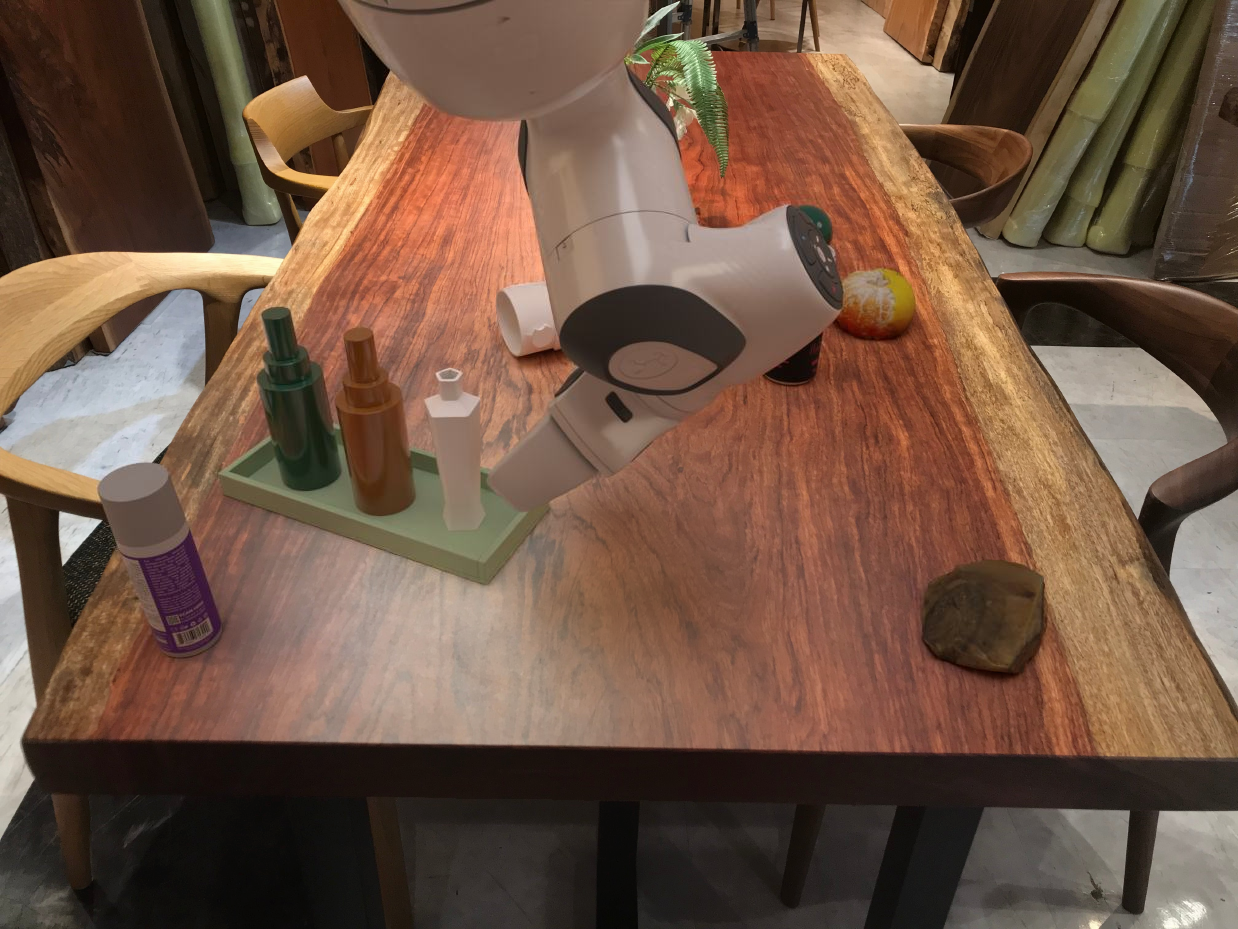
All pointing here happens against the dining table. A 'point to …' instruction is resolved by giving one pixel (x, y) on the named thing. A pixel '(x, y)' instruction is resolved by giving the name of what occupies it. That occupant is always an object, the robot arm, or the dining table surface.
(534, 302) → the white hollow cylinder
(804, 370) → the beverage can
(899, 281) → the fruit
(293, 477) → the bottle
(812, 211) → the sphere
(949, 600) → the decorative stone
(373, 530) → the tray
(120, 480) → the container
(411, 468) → the bottle
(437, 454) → the perfume bottle
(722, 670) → the dining table surface
